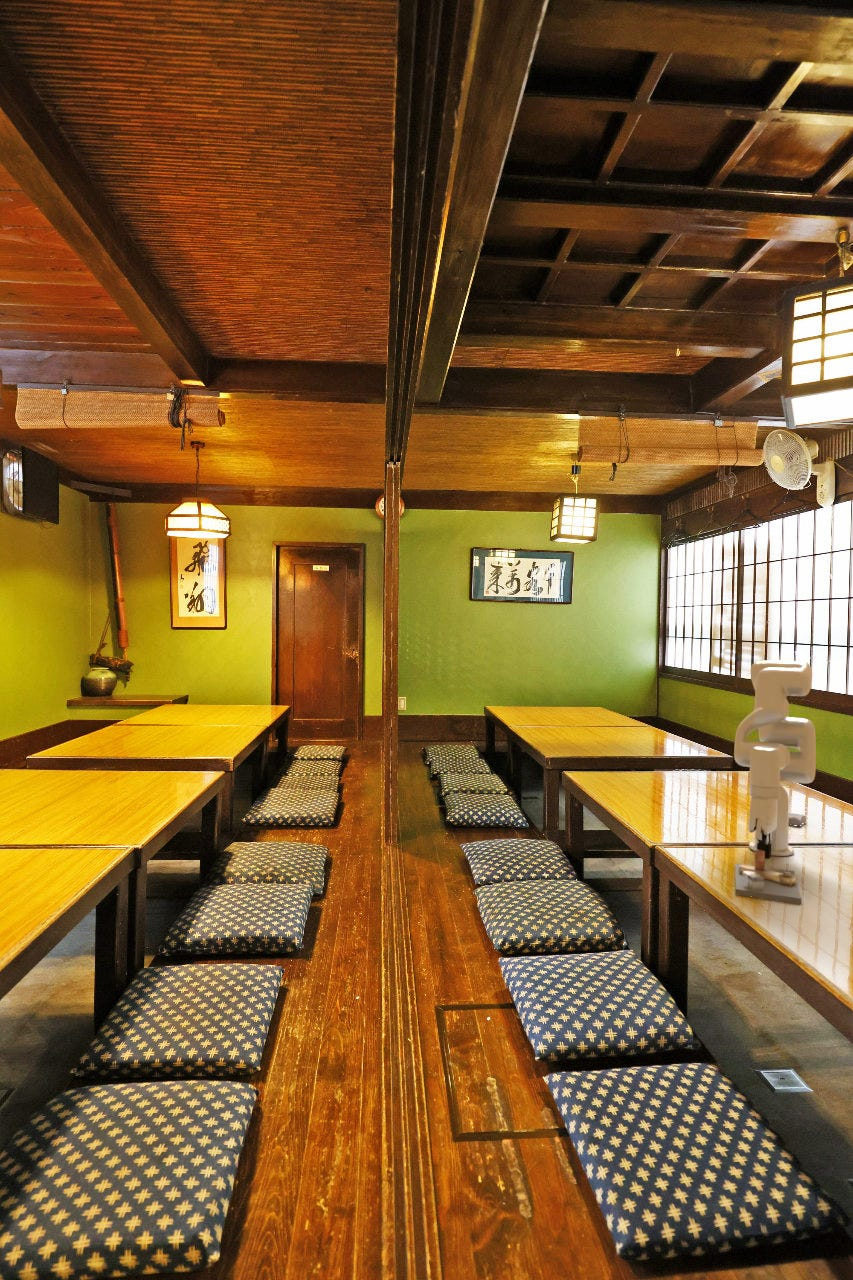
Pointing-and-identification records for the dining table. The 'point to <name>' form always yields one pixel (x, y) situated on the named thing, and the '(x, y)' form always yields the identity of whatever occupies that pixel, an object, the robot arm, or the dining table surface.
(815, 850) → the dining table surface
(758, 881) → the block
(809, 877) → the dining table surface
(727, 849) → the dining table surface
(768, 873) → the ash link
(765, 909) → the dining table surface
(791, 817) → the stone block
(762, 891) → the base board
